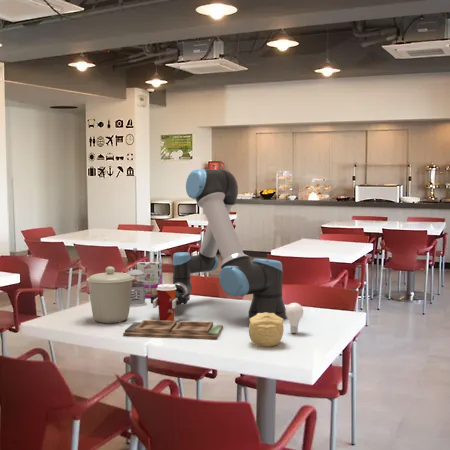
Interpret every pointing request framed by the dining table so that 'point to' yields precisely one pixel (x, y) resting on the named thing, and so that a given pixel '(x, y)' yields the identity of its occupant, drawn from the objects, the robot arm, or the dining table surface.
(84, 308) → the dining table surface
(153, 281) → the candy bar box
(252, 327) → the sculpture
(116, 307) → the canister
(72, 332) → the dining table surface
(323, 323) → the dining table surface
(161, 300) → the paper cup
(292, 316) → the lightbulb
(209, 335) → the wooden compartment tray
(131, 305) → the french press
